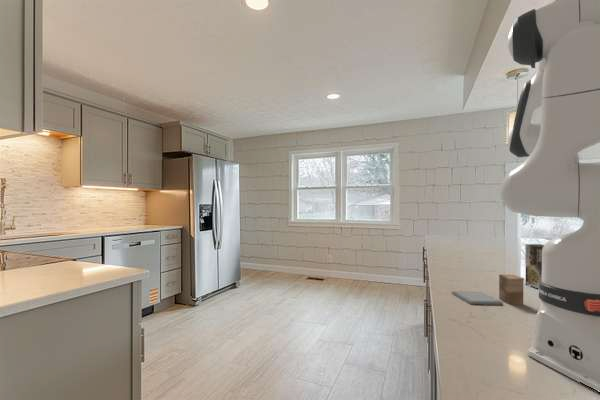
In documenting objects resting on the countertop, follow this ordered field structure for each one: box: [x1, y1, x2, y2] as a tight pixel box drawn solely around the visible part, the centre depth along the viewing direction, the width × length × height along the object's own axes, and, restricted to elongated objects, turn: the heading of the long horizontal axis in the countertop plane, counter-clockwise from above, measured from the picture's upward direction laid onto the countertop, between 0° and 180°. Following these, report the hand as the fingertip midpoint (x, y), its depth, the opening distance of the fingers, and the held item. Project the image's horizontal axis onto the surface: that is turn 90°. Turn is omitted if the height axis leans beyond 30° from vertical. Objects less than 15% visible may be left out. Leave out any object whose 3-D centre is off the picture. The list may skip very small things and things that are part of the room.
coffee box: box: [524, 243, 545, 289], centre depth 111 cm, size 9×6×16 cm
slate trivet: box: [451, 290, 504, 306], centre depth 96 cm, size 11×10×1 cm
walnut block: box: [498, 274, 525, 305], centre depth 94 cm, size 5×5×8 cm
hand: (557, 213), depth 93 cm, fingers open, 8 cm apart
